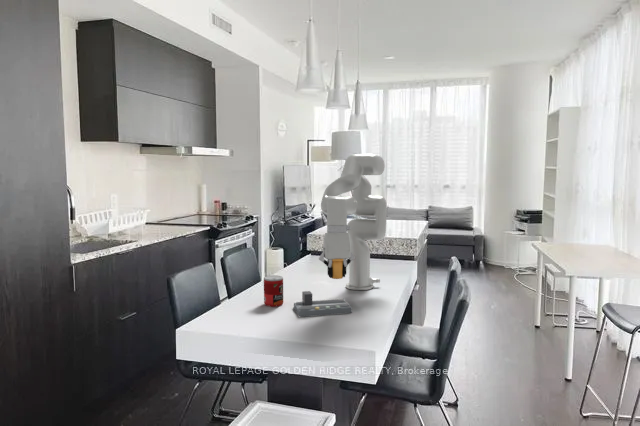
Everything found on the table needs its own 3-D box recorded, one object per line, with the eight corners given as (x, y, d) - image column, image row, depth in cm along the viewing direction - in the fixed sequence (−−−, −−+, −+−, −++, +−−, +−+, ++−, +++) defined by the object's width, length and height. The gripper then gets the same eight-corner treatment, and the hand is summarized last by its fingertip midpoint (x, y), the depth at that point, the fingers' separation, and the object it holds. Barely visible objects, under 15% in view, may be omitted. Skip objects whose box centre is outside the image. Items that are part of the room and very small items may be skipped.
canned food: (275, 307, 182) (275, 280, 181) (260, 305, 186) (259, 278, 185) (287, 303, 188) (287, 276, 187) (271, 300, 193) (271, 274, 192)
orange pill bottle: (341, 276, 182) (341, 256, 181) (345, 278, 176) (345, 259, 176) (328, 276, 180) (328, 257, 180) (332, 279, 175) (332, 259, 175)
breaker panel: (342, 304, 186) (342, 296, 186) (351, 312, 175) (351, 304, 175) (293, 307, 182) (293, 300, 182) (299, 316, 170) (299, 308, 170)
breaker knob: (310, 303, 179) (309, 291, 179) (312, 306, 175) (312, 293, 175) (302, 304, 179) (302, 291, 178) (304, 307, 174) (304, 294, 174)
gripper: (355, 228, 183) (355, 273, 184) (313, 229, 179) (313, 276, 180) (361, 230, 175) (360, 277, 177) (317, 231, 172) (317, 280, 173)
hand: (336, 276), depth 178 cm, fingers closed on orange pill bottle, 4 cm apart
